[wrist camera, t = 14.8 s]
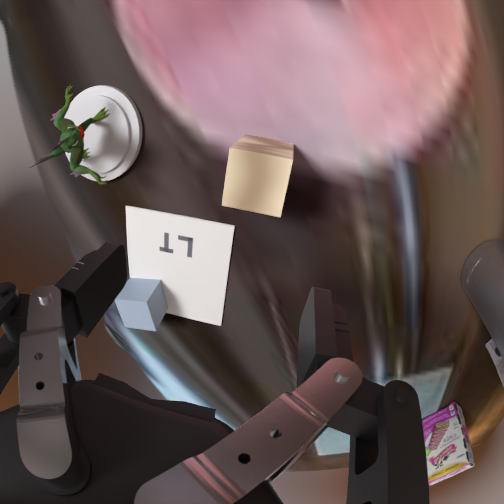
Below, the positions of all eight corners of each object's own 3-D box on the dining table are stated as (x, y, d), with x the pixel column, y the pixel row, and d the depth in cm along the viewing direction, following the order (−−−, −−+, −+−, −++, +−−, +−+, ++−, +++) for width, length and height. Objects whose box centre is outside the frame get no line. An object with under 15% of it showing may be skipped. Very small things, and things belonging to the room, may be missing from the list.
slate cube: (160, 279, 40) (146, 302, 36) (168, 307, 43) (156, 331, 38) (130, 277, 41) (114, 298, 37) (138, 305, 43) (125, 326, 39)
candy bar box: (454, 399, 48) (470, 463, 34) (460, 405, 49) (476, 465, 35) (412, 423, 53) (421, 485, 39) (421, 427, 54) (430, 486, 40)
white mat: (234, 225, 35) (234, 226, 35) (221, 325, 43) (221, 326, 43) (126, 205, 36) (125, 206, 35) (133, 302, 44) (132, 303, 43)
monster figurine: (157, 158, 32) (109, 187, 23) (86, 192, 35) (36, 225, 27) (122, 67, 27) (64, 67, 18) (55, 114, 30) (-2, 130, 21)
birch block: (293, 143, 30) (293, 159, 23) (284, 188, 32) (280, 217, 25) (245, 134, 30) (229, 147, 23) (238, 179, 32) (221, 205, 25)
